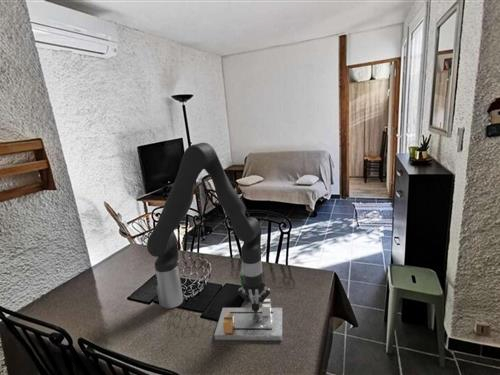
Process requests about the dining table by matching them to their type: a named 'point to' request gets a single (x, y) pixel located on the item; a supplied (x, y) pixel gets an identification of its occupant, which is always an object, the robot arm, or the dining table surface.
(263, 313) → the fader cap cream
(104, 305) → the dining table surface
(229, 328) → the fader cap orange
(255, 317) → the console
